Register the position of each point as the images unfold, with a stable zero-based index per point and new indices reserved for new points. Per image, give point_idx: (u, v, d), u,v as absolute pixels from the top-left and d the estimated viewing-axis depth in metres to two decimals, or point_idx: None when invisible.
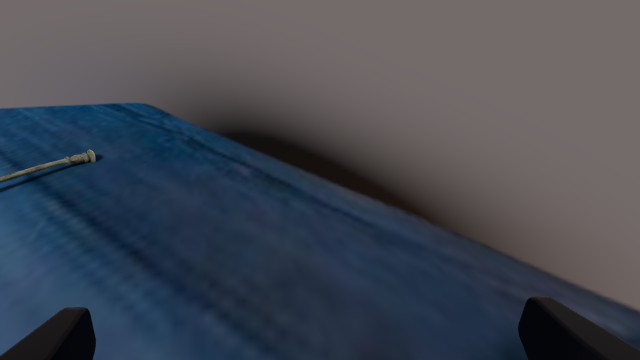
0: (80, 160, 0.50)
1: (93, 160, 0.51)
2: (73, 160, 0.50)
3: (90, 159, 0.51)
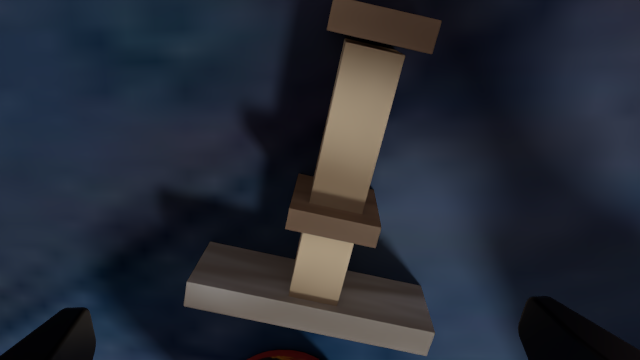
0: None
1: None
2: None
3: None
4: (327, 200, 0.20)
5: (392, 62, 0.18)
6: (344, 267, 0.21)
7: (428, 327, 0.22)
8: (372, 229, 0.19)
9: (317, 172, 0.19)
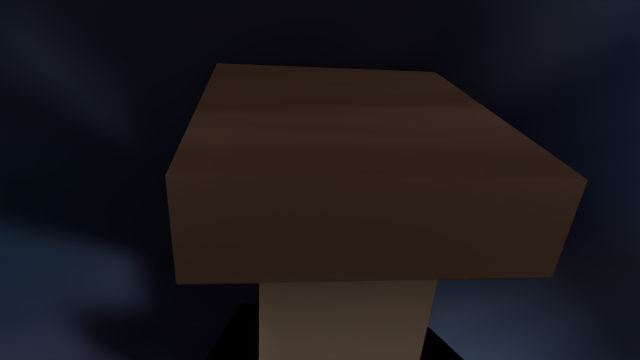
0: None
1: None
2: None
3: None
4: None
5: None
6: None
7: None
8: None
9: None
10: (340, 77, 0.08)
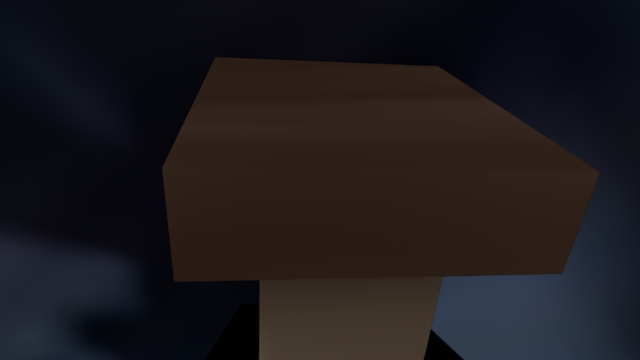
0: None
1: None
2: None
3: None
4: None
5: None
6: None
7: None
8: None
9: None
10: (341, 71, 0.07)
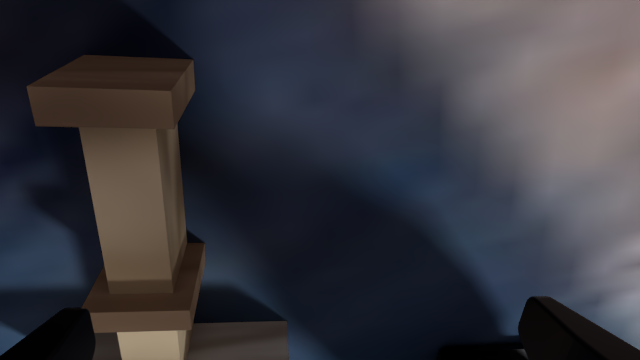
0: None
1: None
2: None
3: None
4: (129, 287, 0.18)
5: (143, 136, 0.15)
6: (175, 345, 0.19)
7: None
8: (181, 313, 0.17)
9: (105, 263, 0.17)
10: (137, 61, 0.16)
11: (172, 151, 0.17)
